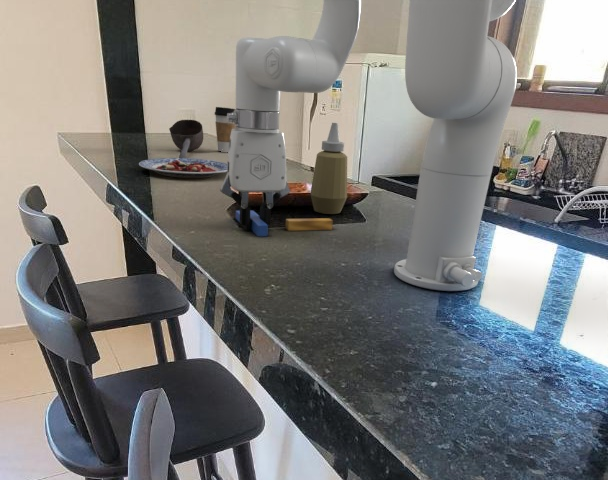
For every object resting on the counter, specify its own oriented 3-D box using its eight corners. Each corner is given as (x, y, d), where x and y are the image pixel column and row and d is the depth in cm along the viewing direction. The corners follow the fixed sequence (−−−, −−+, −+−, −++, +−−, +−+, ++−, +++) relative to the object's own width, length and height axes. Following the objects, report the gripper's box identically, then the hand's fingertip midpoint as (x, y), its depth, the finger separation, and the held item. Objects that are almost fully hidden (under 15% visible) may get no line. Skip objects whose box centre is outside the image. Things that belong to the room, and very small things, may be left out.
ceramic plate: (217, 184, 137) (217, 172, 135) (122, 175, 140) (121, 163, 138) (243, 170, 159) (243, 160, 158) (161, 163, 162) (160, 152, 161)
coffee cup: (210, 151, 194) (210, 106, 187) (220, 149, 202) (220, 106, 195) (231, 154, 192) (232, 108, 186) (241, 151, 200) (241, 108, 193)
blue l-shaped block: (272, 236, 96) (272, 225, 95) (253, 236, 94) (253, 225, 94) (253, 218, 107) (253, 208, 106) (235, 218, 106) (235, 208, 105)
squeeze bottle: (342, 217, 113) (352, 125, 104) (305, 213, 114) (311, 122, 106) (347, 210, 120) (356, 123, 111) (312, 206, 121) (319, 120, 113)
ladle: (205, 142, 198) (201, 114, 191) (205, 189, 170) (201, 158, 163) (173, 144, 196) (168, 116, 189) (168, 191, 169) (162, 160, 162)
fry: (328, 227, 104) (329, 218, 104) (332, 229, 103) (332, 220, 102) (285, 228, 102) (285, 218, 101) (288, 230, 100) (288, 221, 99)
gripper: (214, 121, 85) (215, 235, 94) (309, 126, 91) (302, 232, 99) (206, 117, 91) (207, 224, 100) (294, 122, 97) (289, 223, 105)
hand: (254, 227), depth 100 cm, fingers closed
